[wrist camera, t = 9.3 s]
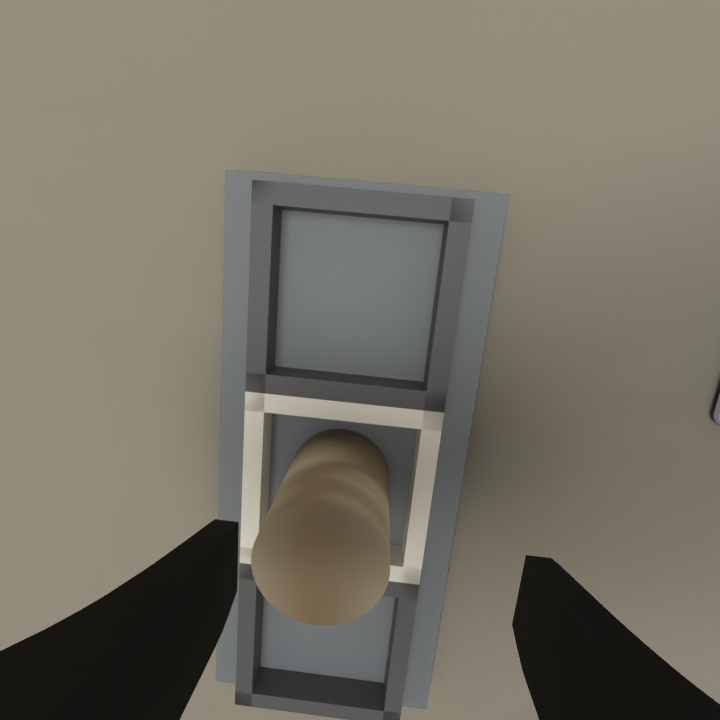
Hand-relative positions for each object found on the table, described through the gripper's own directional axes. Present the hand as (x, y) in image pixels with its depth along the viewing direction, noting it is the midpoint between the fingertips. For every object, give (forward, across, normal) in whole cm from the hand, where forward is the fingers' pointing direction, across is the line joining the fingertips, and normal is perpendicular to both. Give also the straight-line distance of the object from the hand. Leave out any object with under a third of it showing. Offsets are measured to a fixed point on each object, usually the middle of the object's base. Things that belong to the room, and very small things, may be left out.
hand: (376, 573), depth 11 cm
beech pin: (+8, +2, +2) cm, 9 cm away
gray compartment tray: (+10, +2, +2) cm, 10 cm away
